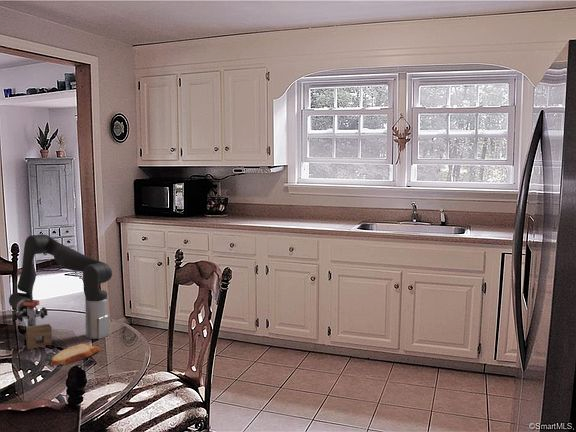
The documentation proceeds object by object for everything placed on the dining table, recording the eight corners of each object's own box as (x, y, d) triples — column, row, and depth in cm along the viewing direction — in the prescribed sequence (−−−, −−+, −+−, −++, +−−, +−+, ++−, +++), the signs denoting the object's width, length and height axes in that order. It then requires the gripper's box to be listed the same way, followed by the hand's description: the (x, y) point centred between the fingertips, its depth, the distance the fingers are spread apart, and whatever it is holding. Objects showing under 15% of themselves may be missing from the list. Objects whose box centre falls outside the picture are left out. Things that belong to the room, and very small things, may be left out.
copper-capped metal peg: (23, 332, 235) (22, 301, 233) (38, 329, 238) (38, 299, 237) (27, 341, 223) (27, 309, 222) (44, 338, 227) (43, 307, 225)
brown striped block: (26, 345, 219) (26, 327, 218) (49, 342, 224) (49, 323, 224) (28, 349, 215) (27, 330, 214) (51, 345, 220) (51, 327, 219)
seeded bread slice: (49, 368, 199) (48, 359, 198) (54, 351, 216) (54, 342, 215) (98, 364, 204) (98, 355, 204) (100, 348, 221) (100, 339, 221)
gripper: (9, 302, 240) (14, 311, 227) (42, 298, 248) (49, 307, 235) (9, 318, 241) (14, 328, 228) (42, 314, 249) (49, 323, 236)
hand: (32, 317), depth 231 cm, fingers open, 8 cm apart
